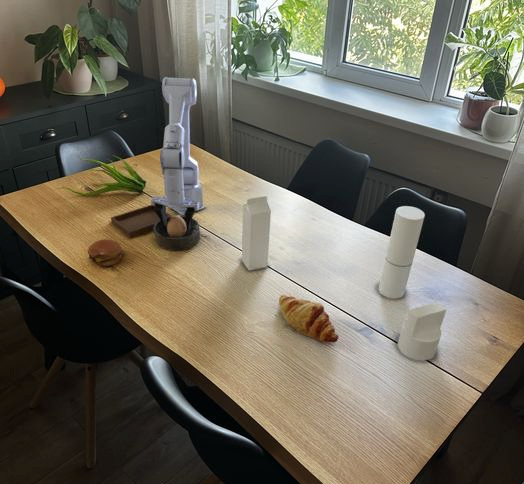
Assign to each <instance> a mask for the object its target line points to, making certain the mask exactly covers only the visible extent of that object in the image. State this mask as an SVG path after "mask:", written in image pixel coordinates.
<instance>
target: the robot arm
mask: <svg viewBox="0 0 524 484" xmlns="http://www.w3.org/2000/svg"><path fill="white" fill-rule="evenodd" d="M161 89H162V96H163V98H164V101H165V102H166V103H167V104H168V107H169V108H168V109H169V110H168V115H169V117H168V124H167V125H166V126H165V127H164V133H163V144H162V145H163V146H162V149H161V150H160V152H159V164H160V169H161V174H162V175H163V187H164V196H152V197H151V199H150V205H155V208H154V211H155V212H156V214H157V215H158V217H159V218H160V221H161V223H162V226H163V227H165V226H166V225H167V217H166V213H167V209H170V210H173V211H175V212H176V213H178V214H179V215H180V216H185V217H186V229H187V230H189V229H190V227H191V221H192V219H193V217H194V215H195V212H197V211H200V210H203V209H205V206H204V195H203V193H204V192H203V186H202V185H201V183H200V170H199V163H198V161H197V160H195V159H194V158H193V157H192V156H191V140H190V138H191V136H190V135H191V134H190V133H191V132H190V131H191V129H190V110H191V107H192V106H195V105H196V103H197V81H196V79H195V78H194V77H192V78H184V77H183V78H181V77H167V76H164V77H163V78H162V84H161Z"/></svg>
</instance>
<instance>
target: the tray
mask: <svg viewBox="0 0 524 484" xmlns="http://www.w3.org/2000/svg"><path fill="white" fill-rule="evenodd" d="M154 208H155V205H151V204H149V205H146V206H143V207H139V208H136V209H133V210H130V211H127V212H123V213H121V214H117V215H114V216H111V217H110V220H111V221H110V222H111V224H112V225H113V226H115V227H116V228H117V229H118V230H120V232H122V233H123V235H125V236H127V237H128V238H129V239H132V238H135V237H138V236H141V235H143V234H146V233H148V232H149V233H150V232H152V231H154V230H153V228H154V225H155V224H156V222H157V221H159V220H160V218H159V217H158V215H157V214H156V212H155V211H154ZM171 216H172V215H170V214H169V213H167V212H166V217H171Z"/></svg>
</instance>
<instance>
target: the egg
mask: <svg viewBox="0 0 524 484" xmlns="http://www.w3.org/2000/svg"><path fill="white" fill-rule="evenodd" d="M171 216H172V217H171V218H170V220H169V221H168V224H167V231H168V234H169V235H170V236H171V237H172V238H182V237H183V236H184V235H185V233H186V223H185V221H184V220H183V219H182V217H180V216H181V215H171Z"/></svg>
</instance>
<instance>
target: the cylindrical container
mask: <svg viewBox="0 0 524 484" xmlns="http://www.w3.org/2000/svg"><path fill="white" fill-rule="evenodd" d="M394 213H395V214H394V218H393V219H394V220H393V222H392V228H391V232H390V236H389V241H388V245H387V248H386V249H387V250H386V253H385V258H384V263H383V267H382V272H381V276H380V280H379V281H380V282H379V284H378V292H379V293H380V294H381V295H382V296H384V297H386V298H388V299H400V298H403V297H404V295H405V292H406V289H407V284H408V281H409V277H410V273H411V269H412V266H413V262H414V259H415V255H416V250H417V248H418V247H417V246H418V243H419V239H420V235H421V231H422V229H423V228H422V227H423V223H424V220H425V217H426V215H425V212H424V211H423V210H421V209H420V208H418V207H415V206H408V205H402V206H399V207H397V208H396V210H395V212H394Z"/></svg>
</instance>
